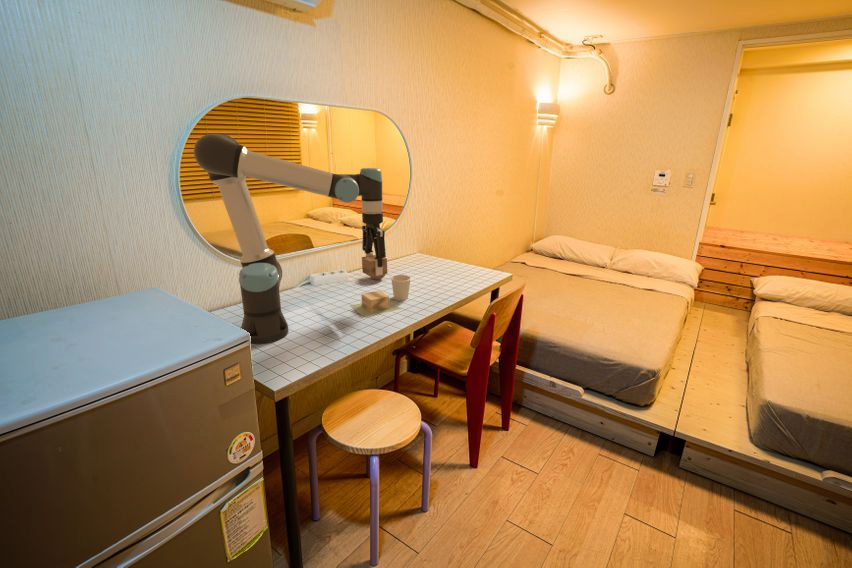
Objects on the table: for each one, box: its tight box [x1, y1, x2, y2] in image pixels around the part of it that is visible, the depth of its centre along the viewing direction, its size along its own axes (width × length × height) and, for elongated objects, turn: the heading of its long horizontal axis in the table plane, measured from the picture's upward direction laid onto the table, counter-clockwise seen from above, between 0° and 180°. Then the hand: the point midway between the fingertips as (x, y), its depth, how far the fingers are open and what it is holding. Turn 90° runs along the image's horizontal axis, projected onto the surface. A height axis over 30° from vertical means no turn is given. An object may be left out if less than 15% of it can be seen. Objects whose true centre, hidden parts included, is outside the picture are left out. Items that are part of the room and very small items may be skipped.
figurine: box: [365, 274, 386, 281], centre depth 198 cm, size 9×11×12 cm
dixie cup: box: [390, 274, 412, 301], centre depth 172 cm, size 8×8×10 cm
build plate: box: [349, 300, 402, 318], centre depth 163 cm, size 16×13×1 cm
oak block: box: [361, 290, 390, 312], centre depth 162 cm, size 8×8×5 cm
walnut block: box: [361, 254, 388, 278], centre depth 157 cm, size 7×7×6 cm
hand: (374, 272), depth 157 cm, fingers closed on walnut block, 7 cm apart
